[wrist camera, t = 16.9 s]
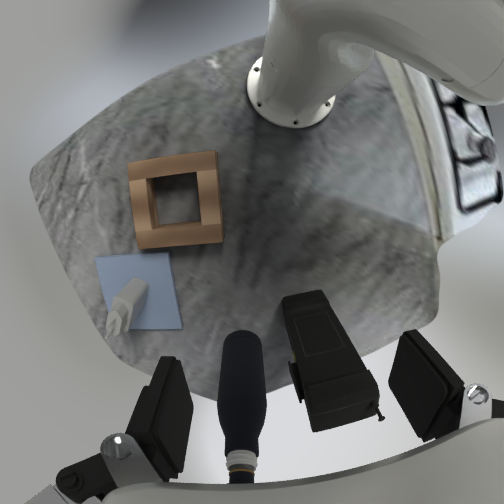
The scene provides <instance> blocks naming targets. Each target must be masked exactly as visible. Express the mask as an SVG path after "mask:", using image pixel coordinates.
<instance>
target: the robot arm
mask: <svg viewBox="0 0 504 504" xmlns="http://www.w3.org/2000/svg"><path fill="white" fill-rule="evenodd" d="M269 6H270V8H269V19H268V26H267V32H266V38H265V44H264V50H263V56H262V57H261V58H259V59H258V60H257V61H256V62H255V63H254V65H253V66H252V68H251V70H250V71H249V74H248V78H247V93H248V96H249V100H250V102H251V104H252V105H253V107H254V108H255V110H256V111H257V112H258V113H259V114H260V115H261V116H262V117H263V118H264V119H266V120H268V121H269V122H271V123H273V124H275V125H278V126H281V127H285V128H297V129H298V128H304V127H308V126H311V125H314V124H315V123H317V122H319V121H321V120H322V119H323V118H325V116H326V115H327V114H328V113H329V112H330V110H331V109H332V107H333V105H334V101H335V96H336V94H337V93H338V92H340V91H341V90H342V89H343V88H345V87H346V86H347V85H349V84H350V83H351V82H353V81H354V80H355V79H356V78H358V77H359V76H360V75H361V74H362V73H364V72H365V70H366V69H367V68H368V67H369V65H370V63H371V61H372V59H373V56H374V50H377V51H380V52H382V53H384V54H386V55H388V56H390V57H392V58H395V59H398V60H400V61H402V62H404V63H406V64H408V65H409V66H411V67H413V68H415V69H417V70H418V71H420V72H422V73H423V74H425V75H427V76H428V77H430V78H432V79H433V80H435V81H437V82H438V83H440V84H441V85H443V86H445V87H446V88H448V89H449V90H451V91H452V92H454V93H456V94H457V95H459V96H460V97H462V98H464V99H466V100H467V101H470V102H472V103H475V104H478V105H482V106H495V105H499V104H502V103H504V0H269ZM255 70H258V72H255ZM258 104H260V105H261V107H258ZM325 104H327V107H326V106H325ZM294 122H297V124H296V125H295V124H294ZM388 383H389V387H390V389H391V391H392V392H393V394H394V396H395V398H396V399H397V401H398V403H399V404H400V406H401V408H402V410H403V411H404V413H405V415H406V417H407V418H408V420H409V422H410V424H411V426H412V427H413V429H414V431H415V433H416V435H417V436H418V437H419V438H422V440H423V442H426V441H428V440H431V439H433V438H435V439H436V440H434V441H432V442H429V443H427V444H424V445H422V446H420V447H417V448H415V449H412V450H410V451H407V452H404V453H402V454H399V455H396V456H393V457H390V458H387V459H384V460H381V461H378V462H374V463H371V464H367V465H364V466H360V467H357V468H353V469H349V470H344V471H340V472H335V473H331V474H326V475H320V476H315V477H309V478H302V479H295V480H287V481H278V482H267V483H249V484H198V483H175V482H169V479H170V478H174V479H177V478H178V473H182V472H183V468H184V461H185V455H186V449H187V444H188V438H189V432H190V426H191V420H192V415H193V402H192V399H191V396H190V392H189V389H188V385H187V382H186V379H185V375H184V372H183V368H182V365H181V361H180V360H176V358H175V357H174V356H162V357H160V360H159V362H158V365H157V367H156V370H155V372H154V375H153V377H152V380H151V382H150V385H149V386H144V387H143V389H142V391H141V394H140V396H139V398H138V401H137V404H136V406H135V409H134V411H133V414H132V416H131V419H130V421H129V424H128V427H127V430H126V432H125V434H124V433H115V434H111V435H110V436H108V437H106V438H105V439H104V440H103V442H102V444H101V447H100V451H101V453H99V454H97V455H94V456H92V457H90V458H88V459H85V460H83V461H80V462H78V463H76V464H73V465H70V466H68V467H65V468H64V469H62V470H61V471H60V472H59V473H58V474H57V477H56V484H55V485H54V486H52V485H51V484H50V485H49V486H48V487H46V488H45V489H43V490H42V491H41V492H40V493H38V494H37V495H35V496H34V497H33V498H31V499H30V500H28V501H27V502H26V503H24V504H504V401H501V400H496V399H492V395H491V392H490V390H489V389H488V388H487V387H486V386H484V385H481V384H470V385H469V386H467V387H466V388H465V387H464V386H463V385H464V382H463V381H462V380H461V378H460V377H459V376H458V375H457V374H456V373H455V371H454V370H453V369H452V368H451V367H450V366H449V365H448V364H447V362H446V361H445V360H444V359H443V358H442V357H441V355H440V354H439V353H438V352H437V351H436V350H435V349H434V348H433V347H432V346H431V344H430V343H429V342H428V341H427V340H426V339H425V338H424V337H423V336H422V335H421V334H420V333H419V332H418V331H417V330H416V329H414V330H410V331H405V332H404V333H403V334H402V336H400V338H399V343H398V347H397V351H396V355H395V358H394V362H393V366H392V370H391V373H390V376H389V380H388Z"/></svg>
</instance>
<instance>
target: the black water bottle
mask: <svg viewBox="0 0 504 504" xmlns="http://www.w3.org/2000/svg"><path fill="white" fill-rule="evenodd" d="M266 408H267V400H266V389H265V378H264V367H263V356H262V345H261V341H260V339H259V338H258V336H257V335H256V334H254V333H252V332H250V331H246V330H239V331H235V332H233V333H231V334H229V335H228V336H227V337H226V339H225V341H224V346H223V354H222V363H221V372H220V381H219V391H218V400H217V409H218V416H219V421H220V425H221V428H222V430H223V433H224V435H225V456H226V460H227V463H226V466H227V469H228V470H229V471H230V472H229V476H230V478H229V479H230V480H229V483H227V484H249V483H254V471H255V470H256V467H257V457H258V456H259V446H258V437H259V435H260V432H261V430H262V427H263V425H264V420H265V416H266Z"/></svg>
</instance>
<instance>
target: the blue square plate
mask: <svg viewBox="0 0 504 504" xmlns="http://www.w3.org/2000/svg"><path fill="white" fill-rule="evenodd" d="M95 263H96V267H97V272H98V276H99V280H100V284H101V288H102V291H103V295H104V299H105V302H106V306H107V309H108V312H110V311H111V307H112V301H113V298H114V297H115V296H116V295H117V294H118V293H119V292H120V290H121V289H122V288H123V287H124V286H125V285H126V284H127V283H128V282H129V281H130V280H131V279H132V278H133V277H137V278H139V279H141V280H144V281H146V282H147V283H148V284H149V288H148V292H147V296H146V299H145V303H144V307H143V309H142V310H141V312H140V313H139V315H138V316H137V318H136V319H135V321H134V322H133V324H132V325H131V327H130V328H129V329H182V328H183V322H182V317H181V313H180V308H179V303H178V298H177V292H176V287H175V281H174V276H173V270H172V264H171V258H170V251H158V252H146V253H134V254H123V255H111V256H100V257H96V258H95Z"/></svg>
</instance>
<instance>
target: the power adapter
mask: <svg viewBox="0 0 504 504" xmlns="http://www.w3.org/2000/svg"><path fill="white" fill-rule="evenodd" d="M148 288H149V284H148V283H147V282H146V281H144V280H141V279H139V278H137V277H133V278H132V279H131V280H130V281H129V282H128V283H127V284H126V285H125V286H124V287H123V288H122V289H121V290H120V292H119V293H118V294H117V295H116V296H115V297H114V298H113V301H112V307H111V311H110V312H109V313H108V317H107V323H106V330H107V331H108V335H107V336H106V338H105V340H107V338H108V337H109V336H110V335H111V336H112V337H113V336H117V335H119V333H120V332H123V333H126V332H127V331H128V330H129V328H130V327H131V325H132V324H133V322H134V321H135V319H136V318H137V316H138V315H139V313H140V312H141V310H142V309H143V307H144V303H145V299H146V296H147V292H148Z"/></svg>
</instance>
